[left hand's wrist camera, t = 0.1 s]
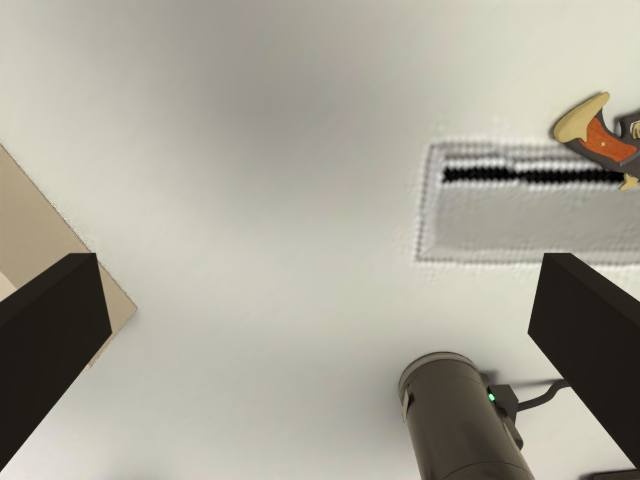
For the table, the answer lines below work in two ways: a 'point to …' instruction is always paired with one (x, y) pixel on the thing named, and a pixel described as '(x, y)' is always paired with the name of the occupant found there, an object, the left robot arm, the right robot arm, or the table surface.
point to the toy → (619, 476)
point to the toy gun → (602, 139)
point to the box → (42, 243)
